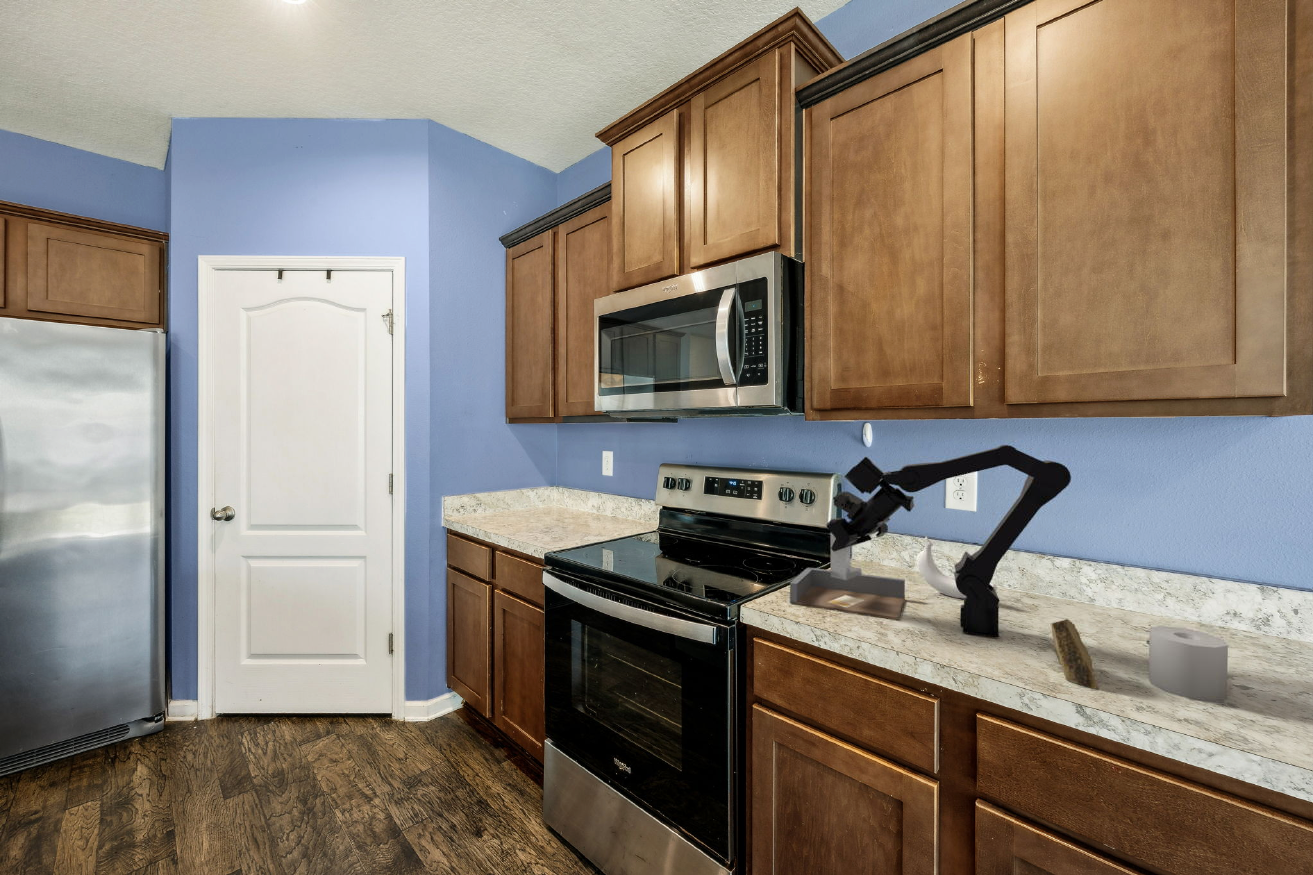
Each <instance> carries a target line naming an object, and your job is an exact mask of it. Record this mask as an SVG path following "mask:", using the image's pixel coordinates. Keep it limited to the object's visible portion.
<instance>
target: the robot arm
mask: <svg viewBox="0 0 1313 875" xmlns="http://www.w3.org/2000/svg"><path fill="white" fill-rule="evenodd" d="M1001 466H1009V467H1010V468H1013V469H1015V470H1017V471H1019V472H1021V473H1023V474H1025V475H1027V477H1026V479H1025V481H1024V484H1023V487H1022V489H1021V491H1020V495H1019V496H1018V498H1017V499H1016V501H1015V502H1014V503H1013V505H1012V506H1011V507H1010V509H1009V510H1008V511H1007V512H1006V514H1005V515H1004V516H1003V517H1002V519H1001V521H1000V522H999V523H998V525H997V526H996V527H995V528H994V529H993V531H992V533H991V534H990V535H989V536H988V538H987V539H986V540H985V541H984V543H983V545H981V547H980V548H979V549H978V550H977V551H975V552H974V553H972V554H970V553H969V552H968V551H964V553H963V555H962V557H961V558H960V560H959V561H958V562H957V563H955V564H954V570H955V571H954V576H953V577H954V579H955V582H956V586H957V589H958V590H959V592H961V593H962V594H963V595H965V596H966V597H967V598H963V604H960V618H959V619H960V628H962V633H963V634H967V635H968V634H970V635H976V636H982V637H989V638H993V639H994V638H995V639H1000V632H999V631H1000V630H999V620H1000V618H999V610H1000V608H999V607H1000V606H999V603H1000V598H999V596H998V593H997V590H996V591H995V589H994V588H993V587H992V586H991V585H990V583H992V580H993V577H994V575H995V572H996V569H997V567H998V564H999V563H1000V561H1001V559H1003V557H1004V556H1005V555H1006V553H1007V552H1008V550H1009V549H1010V548H1011V546H1012V545H1013V544H1014V542H1015V541H1017V539H1018V537H1019V536H1020V535H1021V534H1022V533H1023V531H1024V530H1025V529H1026V528H1027V526H1028V525H1029V523H1030V522H1031V521H1032V520H1033V518H1034V517H1035V515H1036V514H1037V513H1038V511H1039V510H1040V509H1041V508H1042V507H1043V506H1045V505H1046V504H1048V503H1049V502H1050V501H1052V500H1053V499H1055V498H1056V497H1057V496H1058V495H1059V494H1061V492H1062V491H1063V490H1065V489H1066V488H1067V487H1068V486H1069V484H1070V483H1071V481H1072V476H1071V475H1072V474H1071V472H1070V470H1069V469H1068V468H1067V466H1066V465H1064V464H1062V463H1061V462H1056V461H1054V460H1047V459H1046V460H1041V459H1039V458H1036V457H1034V456H1031V455H1029V454H1028V453H1025V452H1023V451H1020V450H1019V449H1017V448H1016V447H1014V446H1012V445H1009V444H1002V445H998V446H997V447H993V448H990V449H985V450H983V451H978V452H975V453H970V454H966V455H963V456H959V457H956V458H955V457H954V458H951V459H950V458H949V459H945V460H942V461H936V462H922V463H921V462H920V463H912V464H911V463H910V464H906V465H903V466H902V467H901V468H900V469H899V470H895V471H890V470H889V471H887V472H884V471H882V470H881V469H880V468H879V467H878V466H877V464H874V462H873V461H872V459H871V458H869V457H868V456H865V457H864V458H863V459H861V460H860V461H859V462H858V463H857V464H855V465H854V466H853V467H852V468H851V469H850V470H849V471H848V472H847V473H845V475H844V479H846V481H848V482H849V483H850V484H851V485H852V486H853V487H854V488H855V489H857V490H858V491H859V492H860V493H861V494H862V495H863V494H865V493H866V494H868V495H871V494H872V493H873V492H874V491H875V490H876V489H878V487H880V488H879V489H878V490H877V492H875V493H874V494H873V495H872V496H871V497H870V498H869V499H868V500H867V501H864V500H863V499H862V498H860V497H858V496H857V495H855V494H853V493H851V492H850V491H848V490H847V491H839V492H838V493H836V495H835V496H833V497H832V499H833V505H834V507H836V508H838V509H841V510H843V511H844V512H846V513H847V514H846V515H845V516H846V517H847V518H848V520H849V521H848V520H847V519H846V518H844V517H836V518H832V519H830V520H829V521H828V522H827V523H826V528H827V529H828V530H829V532H830V534H831V533H832V534H833V535H834V537H835V538H836V539H835V541H834V543H833V545H832V547H831V546H830V550H831V549H832V550H833V551H834V552H835V551H838V550H841V549H843V548H846V547H849V546H850V548H851V547H853V546H857V545H860V544H863V543H867V542H870V541H872V539H873V538H872V537H871V535H874V534H875V536H876V538H881V537H883V536H885V534H887V533H888V532H889V531H888V530H889V527H888V525H887V524H886V523H888V522H889V521H890V520H891V516H893V515H894V514H895V513H896V512H897V511H898V510H899V509H900V508H903V509H904V510H906V511H907V512H908V513H909V512H911V511H912V510H913V508H914V507H915V503H914V499H915V497H914V496H910V495H906V494H905V493H904V492H906V493H909V494H910V493H916V492H919V491H922V490H924V489H926V488H929V487H931V486H933V485H935V484H939V483H940V482H942V481H944V480H947V479H951V478H956V477H960V476H963V475H968V474H972V473H976V472H980V471H985V470H988V469H993V468H997V467H1001ZM892 485H893V486H892ZM894 486H896V488H895V487H894ZM902 490H903V491H904V492H903V491H902Z"/></svg>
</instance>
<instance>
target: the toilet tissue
mask: <svg viewBox="0 0 1313 875" xmlns="http://www.w3.org/2000/svg"><path fill="white" fill-rule="evenodd" d="M1148 630H1149V634H1148V636H1149V639H1147V640H1145V643H1147V645H1148V646H1149V647H1148V680H1149V683H1150V685H1152V686H1154V687H1156V688H1157V689H1160V690H1162V691H1163V692H1165V693H1169V694H1171V695H1175V696H1177V697H1182V698H1185V699H1188V700H1194V701H1202V702H1210V703H1218V702H1221V701H1227V700H1228V698H1227V697H1228V659H1229V655H1228V654H1229V649H1228V648H1229V645H1228V644H1227V642H1226V641H1225V639H1223V638H1221V637H1218V636H1215V635H1212V634H1210V633H1207V632H1203V631H1199V630H1196V629H1195V630H1193V629H1189V628H1184V627H1178V626H1177V627H1176V626H1169V625H1168V626H1167V625H1159V626H1152V627H1149V629H1148Z"/></svg>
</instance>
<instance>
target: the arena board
mask: <svg viewBox="0 0 1313 875" xmlns="http://www.w3.org/2000/svg"><path fill="white" fill-rule="evenodd" d="M795 603H796V602H795ZM904 603H905V600H904V599H902V598H895V597H888V596H881V595H873V594H866V593H859V592H851V591H844V590H837V589H830V588H822V587H815V586H812V587H811V588H810V589H809V590H808V591H807V592H806V593H805V594H804V595H803V596H802V597H801V598H800V599H799V600H798V601H797V603H796V604H794V602H792V604H791V605H797V604H800V605H799V606H803V605H804V606H805V607H809V606H812V607H811V608H816V609H822V608H824V610H829V611H835V610H837V611H836V612H842V611H844V612H843V613H847V614H848V613H849V614H855V613H857V615H864V616H868V615H870V616H869V617H874V618H881V619H889V620H893V619H894V621H898V619H899V617H900V614H901V611H902V609H903V605H904Z"/></svg>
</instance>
